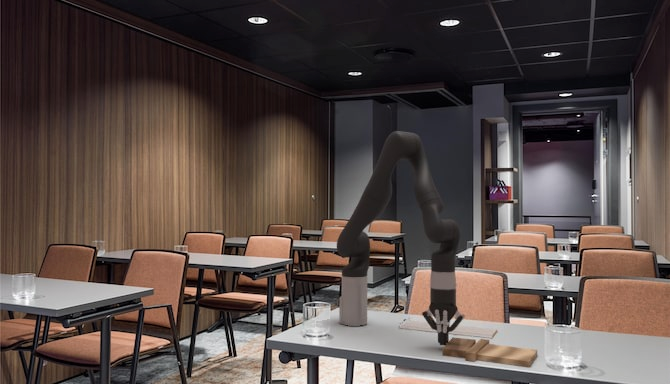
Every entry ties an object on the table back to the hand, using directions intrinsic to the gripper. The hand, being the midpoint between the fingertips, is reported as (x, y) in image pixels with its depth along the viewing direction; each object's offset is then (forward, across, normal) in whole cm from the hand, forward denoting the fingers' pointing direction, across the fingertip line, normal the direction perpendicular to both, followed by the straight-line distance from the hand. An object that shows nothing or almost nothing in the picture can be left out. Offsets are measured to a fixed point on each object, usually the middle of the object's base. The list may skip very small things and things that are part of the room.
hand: (443, 344), depth 160 cm
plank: (0, +1, 0) cm, 1 cm away
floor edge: (+1, +17, 0) cm, 17 cm away
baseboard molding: (+2, -6, +23) cm, 24 cm away
